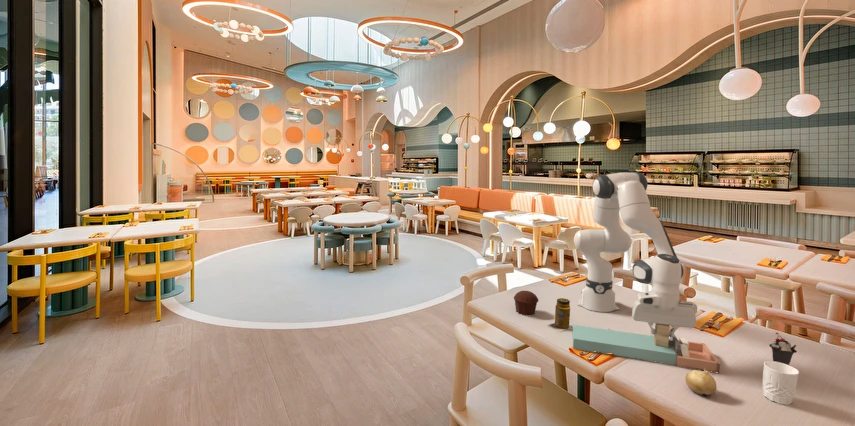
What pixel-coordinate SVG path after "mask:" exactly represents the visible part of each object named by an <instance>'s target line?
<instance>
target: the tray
mask: <svg viewBox="0 0 855 426" xmlns="http://www.w3.org/2000/svg"><path fill="white" fill-rule="evenodd" d="M669 340H670V338H669ZM677 340H678V341H679V339H677ZM687 342H688V343H689V348H688V352H689V356H690V358H689V357H682V356H681V355H680V354H679V353H676V351H675V349H674V347H673V349H674V351H675V353H676V365H675V366H676V367H677V366H679V367H678V368H683V367H685V368H684V369H689V368H691V369H690V370H696V369H700V370H699V371H702V370H704V368H705V370H706V371H712V372H711V373H714V372H718V373H717V374H720V371H721V363H720V360H719V359H718V358H717V357H716V356H715V354H714V353H713V352H712V351H711V349H710V348H709V347H708V345H707V344H706V343H705V342H703V343H702V342H695V341H690V340H687Z"/></svg>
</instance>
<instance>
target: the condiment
mask: <svg viewBox="0 0 855 426" xmlns="http://www.w3.org/2000/svg"><path fill="white" fill-rule="evenodd" d="M570 304H571V301H570V300H569V299H568V298H561V297H560V298H557V299H556V305H555V312H554V323H551V324H547V326H548V327H550V328H551V329H554V330H556V331H558V332H565V331H567V330H570V329H573V325H572V326H571V325H570V320H571V319H570V316H571V305H570Z"/></svg>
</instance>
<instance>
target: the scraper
mask: <svg viewBox="0 0 855 426" xmlns="http://www.w3.org/2000/svg"><path fill="white" fill-rule="evenodd" d="M654 329H656V335H655V334H653V336H654V343H655V345H656V346H662V347H674V349H675V351H676V353H679V354H680V350H681V345H680V343H679V341H678V340H679V339H678V338H677V336H676V334H675V332H674V333H673V337H669V331H670V330H671V325H664V324H656V323H654ZM669 339H670V340H669Z"/></svg>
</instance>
